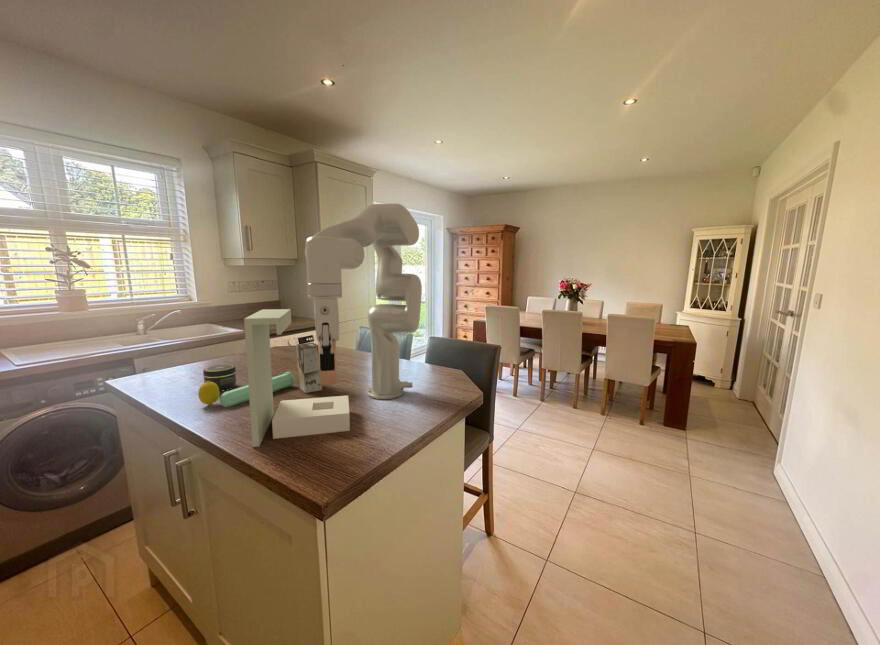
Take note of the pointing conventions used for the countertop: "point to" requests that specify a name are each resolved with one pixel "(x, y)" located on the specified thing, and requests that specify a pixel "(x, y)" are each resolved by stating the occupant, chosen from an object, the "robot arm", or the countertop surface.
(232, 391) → the container
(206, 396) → the lemon
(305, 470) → the countertop surface
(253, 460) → the countertop surface
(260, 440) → the grey hook bracket
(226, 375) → the jar
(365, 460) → the countertop surface
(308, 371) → the coffee box
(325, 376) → the peg
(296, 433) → the socket block
